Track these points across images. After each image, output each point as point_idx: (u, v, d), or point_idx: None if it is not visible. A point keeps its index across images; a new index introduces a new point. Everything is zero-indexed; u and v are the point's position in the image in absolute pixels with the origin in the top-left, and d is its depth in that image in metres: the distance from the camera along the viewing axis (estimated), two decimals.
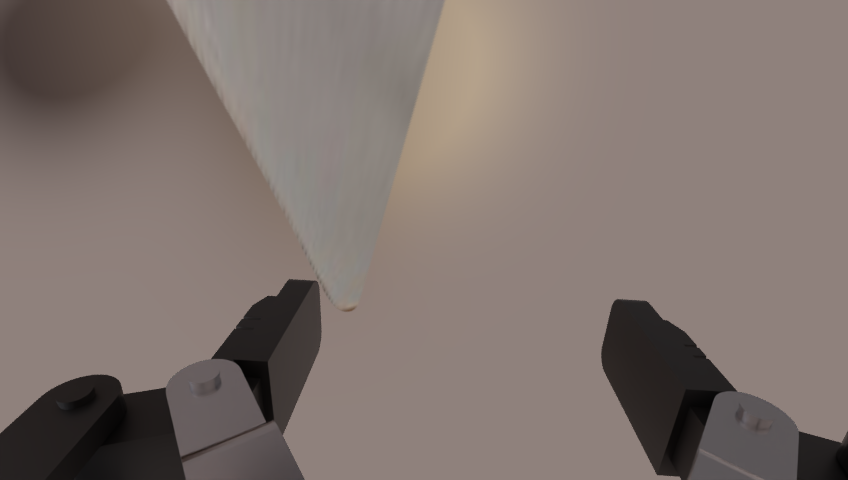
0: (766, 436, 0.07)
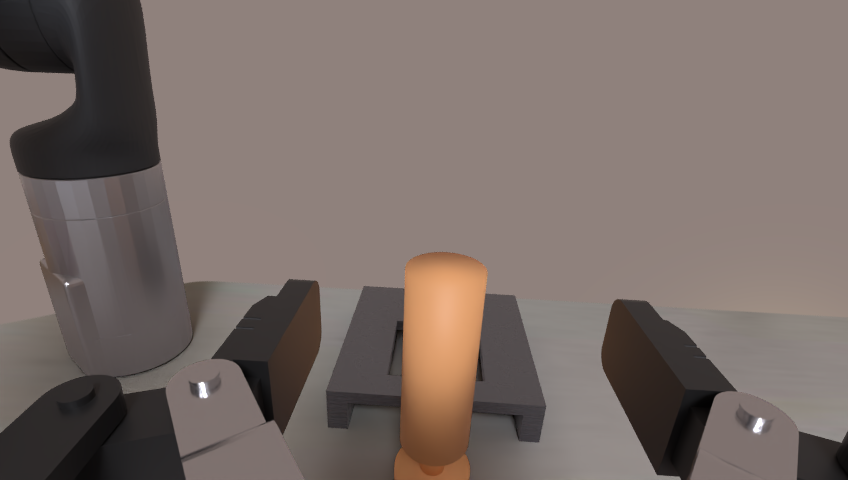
0: (766, 436, 0.07)
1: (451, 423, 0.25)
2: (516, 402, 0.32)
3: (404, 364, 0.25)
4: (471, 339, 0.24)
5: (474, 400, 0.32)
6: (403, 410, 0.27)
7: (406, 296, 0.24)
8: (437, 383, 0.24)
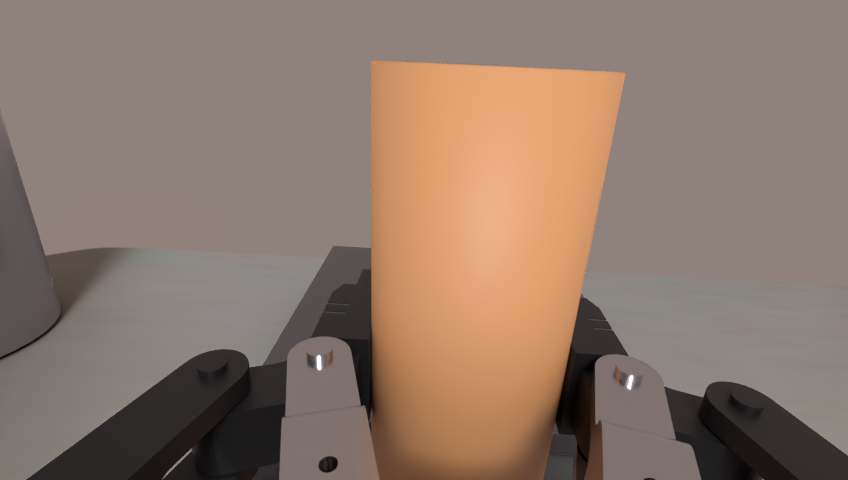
0: (632, 389, 0.08)
1: None
2: None
3: (375, 355, 0.09)
4: (573, 274, 0.08)
5: None
6: None
7: (375, 144, 0.08)
8: (467, 406, 0.08)
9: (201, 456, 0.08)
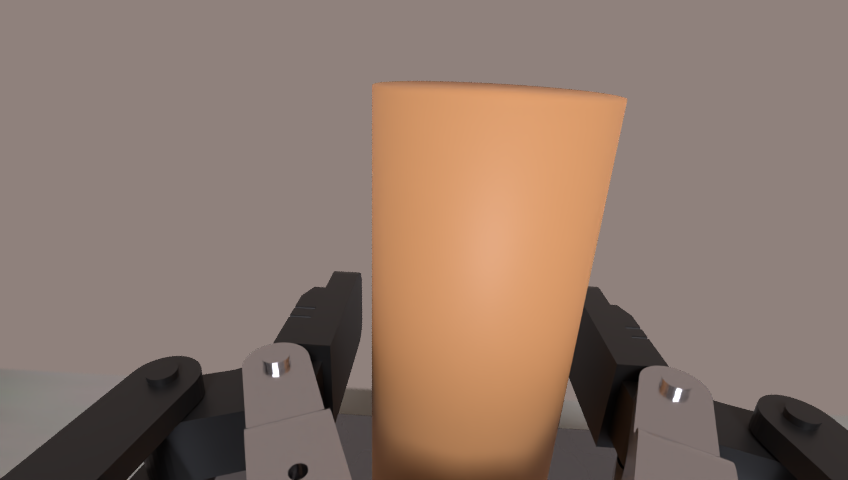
0: (681, 403, 0.08)
1: None
2: None
3: (375, 374, 0.09)
4: (574, 299, 0.08)
5: None
6: None
7: (376, 168, 0.08)
8: (467, 429, 0.08)
9: (155, 468, 0.08)
